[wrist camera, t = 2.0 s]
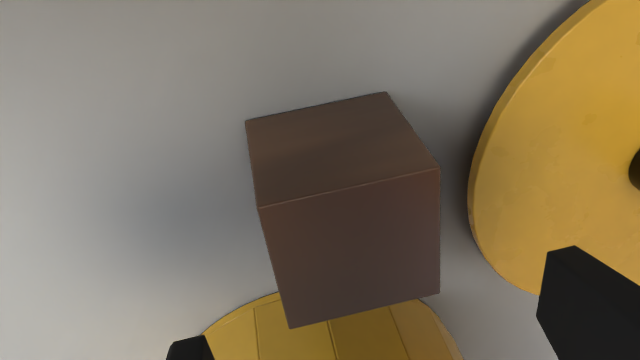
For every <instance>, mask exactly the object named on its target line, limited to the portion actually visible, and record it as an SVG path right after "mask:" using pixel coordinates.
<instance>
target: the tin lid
mask: <svg viewBox="0 0 640 360" xmlns="http://www.w3.org/2000/svg"><path fill="white" fill-rule="evenodd" d="M467 206H468V217H469V223H470V226H471V230H472V234H473V237H474V239H475V241H476V243H477V245H478V247H479V249H480V251H481V253H482V254H483V256H484V257H485V259H486V260H487V261H488V263H489V264H490V265H491V266H492V268H493V269H494V270H495V271H496V272H497V273H498V274H499V275H500V276H501V277H503V278H504V279H505V280H506V281H508V282H509V283H511V284H513V285H515V286H516V287H518V288H520V289H522V290H524V291H527V292H530V293H533V294H535V295H539V296H540V290H541V284H542V279H543V273H544V267H545V261H546V256H547V252H548V251H552V250H557V249H561V248H565V247H569V246H573V245H575V246H577V247H579V248H580V249H582V250H583V251H585V252H587V253H588V254H590V255H592V256H593V257H595V258H596V259H598V260H600V261H601V262H603V263H604V264H606V265H608V266H609V267H611V268H612V269H614V270H615V271H617V272H619V273H620V274H622V275H623V276H625V277H627V278H628V279H630V280H631V281H633V282H635V283H636V284H638V285H639V286H640V0H590V1H589V2H587V3H586V4H585V5H583V6H582V7H581V8H579V9H578V10H577V11H576V12H575V13H574V14H573V15H571V16H570V17H569V18H568V19H567V20H566V21H565V22H563V23H562V24H561V25H560V26H559V27H558V28H557V29H556V30H554V31H553V32H552V34H551V35H550V36H549V37H548V38H547V39H546V40H545V41H544V42H543V43H542V44H541V45H540V46H539V47H538V48H537V49H536V50H535V52H534V53H533V54H532V55H531V56H530V57H529V58H528V60H527V61H526V62H525V64H524V65H523V66H522V67H521V69H520V70H519V71H518V73H517V74H516V75H515V76H514V78H513V79H512V80H511V82H510V83H509V85H508V86H507V88H506V90H505V91H504V93H503V94H502V96H501V97H500V99H499V101H498V102H497V104H496V105H495V107H494V109H493V111H492V113H491V115H490V117H489V119H488V121H487V123H486V125H485V127H484V129H483V131H482V134H481V137H480V139H479V142H478V145H477V148H476V151H475V153H474V156H473V161H472V165H471V170H470V175H469V179H468V193H467Z"/></svg>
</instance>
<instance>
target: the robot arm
mask: <svg viewBox="0 0 640 360" xmlns="http://www.w3.org/2000/svg"><path fill="white" fill-rule="evenodd" d="M536 317H537V319H538V321H539V323H540V325H541V327H542V329H543V331H544V333H545V335H546V337H547V339H548V340H549V342H550V344H551V346H552V348H553V350H554V351H555V353H556V355H557V357H558V359H559V360H640V286H639V285H638V284H636V283H635V282H633V281H631V280H630V279H628V278H627V277H625V276H623V275H622V274H620V273H619V272H617V271H615V270H614V269H612V268H611V267H609V266H608V265H606V264H604V263H603V262H601V261H600V260H598V259H596V258H595V257H593V256H592V255H590V254H588V253H587V252H585V251H583V250H582V249H580V248H579V247H577V246H575V245H573V246H569V247H565V248H561V249H557V250H552V251H548V252H547V256H546V261H545V267H544V273H543V279H542V284H541V290H540V296H539V302H538V307H537V313H536ZM166 360H215V359H214V356H213V354H212V351H211V349H210V347H209V344H208V342H207V340H206V337H205V335H200V336H196V337H192V338H188V339H184V340H179V341H175V342H173V344H172V345H171V346H170V348H169V351H168V354H167V358H166Z"/></svg>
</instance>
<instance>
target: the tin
mask: <svg viewBox="0 0 640 360" xmlns="http://www.w3.org/2000/svg"><path fill="white" fill-rule="evenodd" d="M201 335H205V337H206V340H207V342H208V344H209V347H210V349H211V351H212V354H213V356H214V359H215V360H464V359H463V357H462V355H461V353H460V351H459V349H458V347H457V345H456V343H455V341H454V339H453V337H452V336H451V335H450V333H449V332H448V331H447V330H446V329H445V326H444V325H443V323H442V322H441V320H440V319H439V317H438V316H437V315H436V314H435V313H434V312H433V311H432V310H431V309H430V308H429V307H428V306H427V305H425V304H424V303H422V302H421V301H419V300H418V299H414V300H410V301H406V302H402V303H398V304H394V305H389V306H385V307H381V308H377V309H373V310H369V311H365V312H361V313H357V314H352V315H348V316H344V317H340V318H336V319H332V320H328V321H324V322H319V323H315V324H311V325H307V326H303V327H299V328H295V329H289V328H288V324H287V320H286V317H285V313H284V309H283V305H282V301H281V298H280V294H279V292H277V293H274V294H271V295H268V296H265V297H262V298H260V299H258V300H255V301H253V302H251V303H248V304H246V305H244V306H242V307H240V308H238V309H237V310H235V311H233V312H231V313H229V314H227V315H226V316H224V317H223V318H221V319H220V320H219V321H217V322H216V323H214V324H213V325H211V326H210V327H209V328H208V329H207V330H206V331H204V332H203V333H202V334H201Z"/></svg>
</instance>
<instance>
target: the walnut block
mask: <svg viewBox="0 0 640 360" xmlns="http://www.w3.org/2000/svg"><path fill="white" fill-rule="evenodd" d="M245 127H246V134H247V141H248V148H249V156H250V163H251V170H252V177H253V184H254V192H255V199H256V206H257V211H258V215H259V218H260V222H261V226H262V230H263V233H264V237H265V241H266V245H267V249H268V252H269V256H270V260H271V264H272V267H273V271H274V275H275V279H276V283H277V286H278V290H279V294H280V298H281V301H282V305H283V309H284V313H285V317H286V320H287V324H288V328H289V329H295V328H299V327H303V326H307V325H311V324H315V323H319V322H324V321H328V320H332V319H336V318H340V317H344V316H348V315H352V314H357V313H361V312H365V311H369V310H373V309H377V308H381V307H385V306H389V305H394V304H398V303H402V302H406V301H410V300H414V299H418V298H422V297H427V296H431V295H435V294H439V293H440V166H439V164H438V163H437V162H436V160H435V159H434V157H433V156H432V155H431V153H430V152H429V150H428V149H427V148H426V146H425V145H424V144H423V142H422V141H421V139H420V138H419V137H418V135H417V134H416V132H415V131H414V130H413V128H412V127H411V125H410V124H409V123H408V121H407V120H406V118H405V117H404V116H403V114H402V113H401V112H400V110H399V109H398V107H397V106H396V105H395V103H394V102H393V100H392V99H391V98H390V96H389V95H388V93H387V92H381V93H376V94H372V95H367V96H362V97H357V98H352V99H348V100H343V101H338V102H333V103H328V104H324V105H319V106H314V107H309V108H305V109H300V110H295V111H290V112H285V113H281V114H276V115H271V116H266V117H261V118H257V119H252V120H247V121H245Z"/></svg>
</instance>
